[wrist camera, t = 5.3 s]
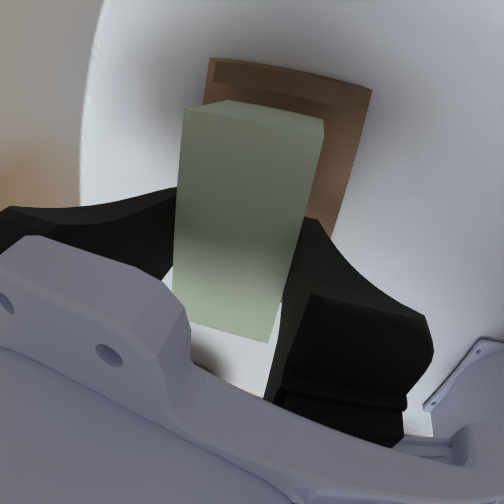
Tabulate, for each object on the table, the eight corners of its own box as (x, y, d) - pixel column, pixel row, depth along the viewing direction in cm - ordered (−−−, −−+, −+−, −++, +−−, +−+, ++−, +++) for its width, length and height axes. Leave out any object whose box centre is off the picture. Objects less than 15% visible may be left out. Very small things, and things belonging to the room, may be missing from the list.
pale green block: (282, 279, 16) (267, 343, 12) (206, 259, 16) (171, 316, 13) (323, 119, 12) (324, 136, 8) (227, 100, 12) (184, 109, 8)
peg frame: (313, 285, 20) (310, 312, 18) (190, 253, 20) (174, 276, 18) (370, 89, 13) (379, 90, 11) (213, 58, 14) (195, 55, 12)
